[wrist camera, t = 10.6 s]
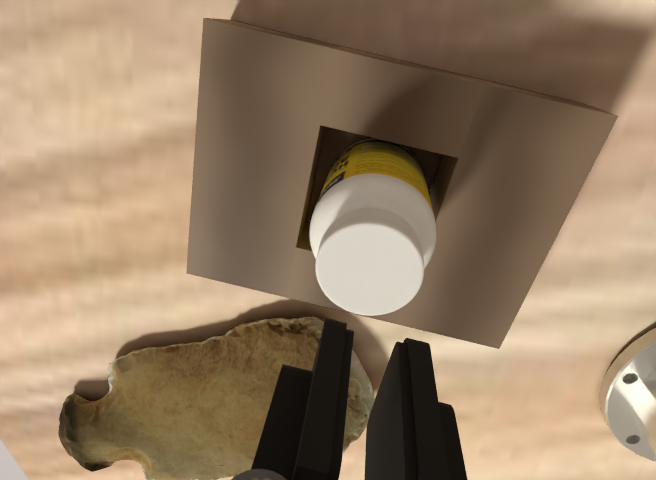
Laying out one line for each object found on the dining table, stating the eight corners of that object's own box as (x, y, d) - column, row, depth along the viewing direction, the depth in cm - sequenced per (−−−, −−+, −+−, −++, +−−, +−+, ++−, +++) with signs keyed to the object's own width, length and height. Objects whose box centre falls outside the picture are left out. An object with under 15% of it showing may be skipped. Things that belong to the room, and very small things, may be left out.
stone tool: (119, 470, 38) (393, 420, 32) (88, 512, 34) (392, 465, 28) (55, 360, 35) (342, 284, 29) (13, 393, 31) (334, 312, 25)
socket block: (583, 103, 21) (618, 116, 18) (485, 312, 27) (499, 348, 24) (229, 19, 21) (203, 18, 18) (208, 245, 27) (186, 273, 24)
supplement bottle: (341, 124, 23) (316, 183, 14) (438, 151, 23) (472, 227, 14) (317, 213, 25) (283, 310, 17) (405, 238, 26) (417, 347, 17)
